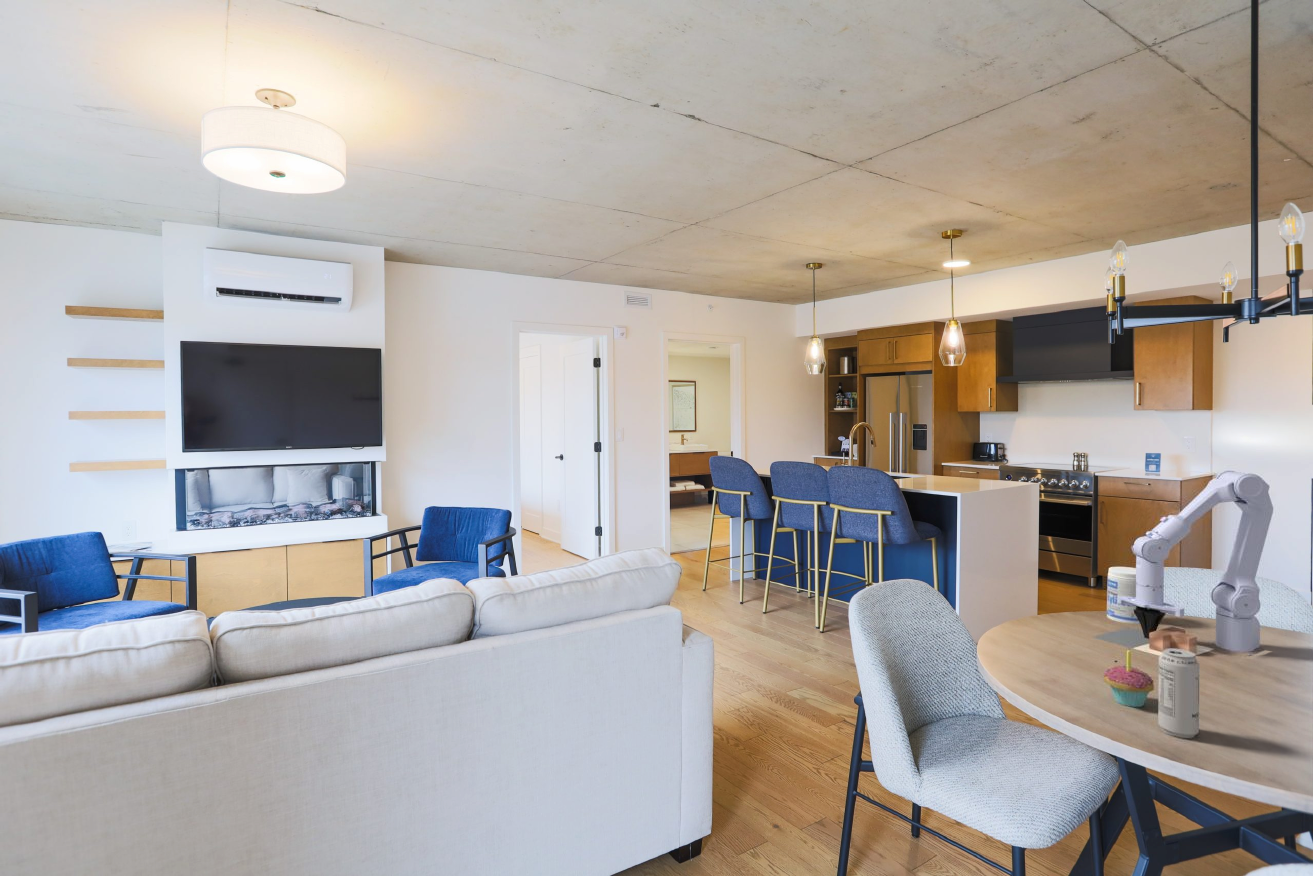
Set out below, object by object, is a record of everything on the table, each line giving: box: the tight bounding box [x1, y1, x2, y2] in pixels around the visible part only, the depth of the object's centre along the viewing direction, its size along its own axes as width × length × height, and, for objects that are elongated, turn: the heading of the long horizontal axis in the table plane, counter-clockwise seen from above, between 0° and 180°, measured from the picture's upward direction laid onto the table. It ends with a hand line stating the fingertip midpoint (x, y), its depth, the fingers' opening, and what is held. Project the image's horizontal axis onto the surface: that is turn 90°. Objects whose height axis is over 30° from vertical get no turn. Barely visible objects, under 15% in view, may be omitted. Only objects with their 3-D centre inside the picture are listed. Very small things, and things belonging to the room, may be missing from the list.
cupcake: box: [1103, 647, 1155, 708], centre depth 141 cm, size 9×8×12 cm
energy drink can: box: [1157, 648, 1200, 739], centre depth 127 cm, size 6×6×15 cm
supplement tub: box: [1106, 566, 1140, 625], centre depth 194 cm, size 10×10×15 cm
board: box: [1092, 627, 1215, 657], centre depth 174 cm, size 16×20×1 cm
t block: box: [1149, 626, 1198, 653], centre depth 168 cm, size 7×10×4 cm
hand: (1149, 637), depth 174 cm, fingers closed
